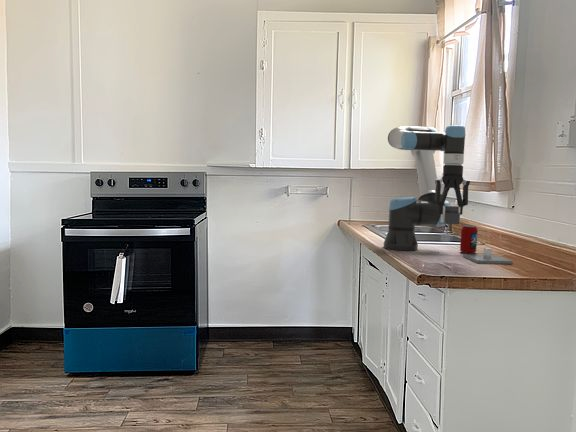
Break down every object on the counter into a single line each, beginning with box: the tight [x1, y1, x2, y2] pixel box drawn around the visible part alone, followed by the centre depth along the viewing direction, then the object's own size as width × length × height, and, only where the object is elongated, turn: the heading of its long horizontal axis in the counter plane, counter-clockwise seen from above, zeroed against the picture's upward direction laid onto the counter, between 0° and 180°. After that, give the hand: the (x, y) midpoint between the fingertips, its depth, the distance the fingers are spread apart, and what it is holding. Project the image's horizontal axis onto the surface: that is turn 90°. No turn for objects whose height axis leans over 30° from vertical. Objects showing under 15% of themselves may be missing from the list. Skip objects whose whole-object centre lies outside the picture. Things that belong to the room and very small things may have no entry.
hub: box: [462, 247, 514, 265], centre depth 203 cm, size 14×14×5 cm
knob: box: [441, 205, 461, 225], centre depth 202 cm, size 5×5×7 cm
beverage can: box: [459, 224, 479, 254], centre depth 221 cm, size 7×7×12 cm
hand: (449, 222), depth 203 cm, fingers closed on knob, 5 cm apart
